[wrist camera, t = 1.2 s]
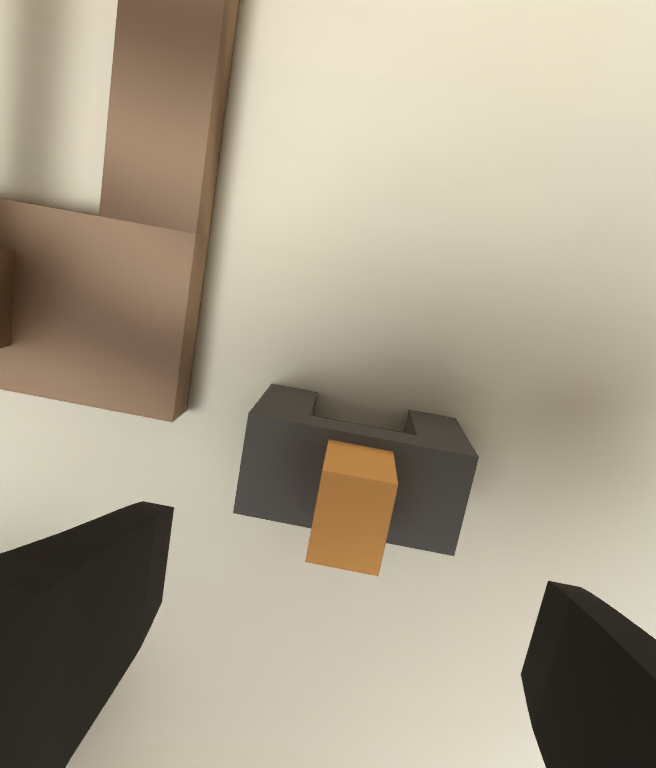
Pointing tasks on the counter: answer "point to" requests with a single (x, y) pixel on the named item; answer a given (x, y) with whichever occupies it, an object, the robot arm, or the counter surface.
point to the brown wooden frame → (126, 228)
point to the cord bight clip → (354, 480)
